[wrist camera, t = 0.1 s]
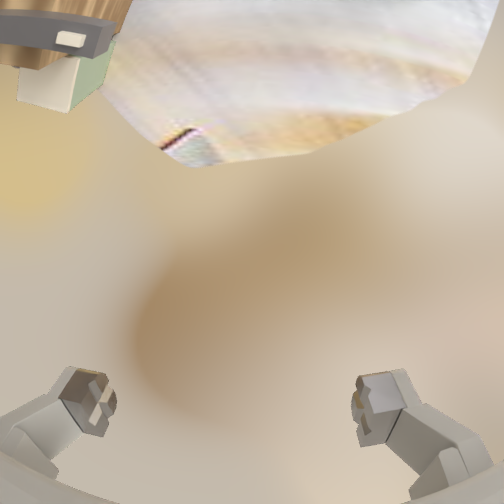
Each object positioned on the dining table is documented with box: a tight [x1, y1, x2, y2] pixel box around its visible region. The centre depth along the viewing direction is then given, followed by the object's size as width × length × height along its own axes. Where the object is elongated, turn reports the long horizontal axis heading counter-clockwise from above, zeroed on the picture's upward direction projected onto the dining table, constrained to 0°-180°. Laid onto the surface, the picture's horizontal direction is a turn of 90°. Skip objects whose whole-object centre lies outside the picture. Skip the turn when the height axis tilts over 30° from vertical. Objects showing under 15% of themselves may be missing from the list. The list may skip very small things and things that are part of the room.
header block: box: [17, 40, 116, 114], centre depth 37 cm, size 12×10×15 cm
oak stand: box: [0, 0, 132, 70], centre depth 24 cm, size 16×12×26 cm
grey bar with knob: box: [0, 9, 118, 59], centre depth 16 cm, size 22×4×4 cm, turn 62°
